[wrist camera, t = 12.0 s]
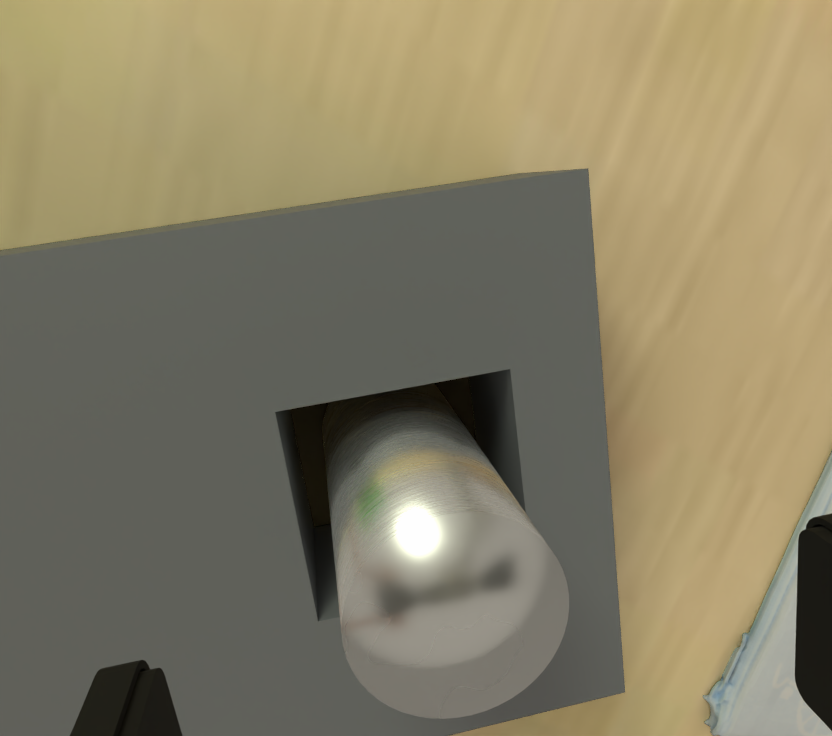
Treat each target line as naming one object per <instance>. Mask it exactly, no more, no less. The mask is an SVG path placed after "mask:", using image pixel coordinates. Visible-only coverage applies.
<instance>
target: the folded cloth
mask: <svg viewBox="0 0 832 736" xmlns="http://www.w3.org/2000/svg"><path fill="white" fill-rule="evenodd" d="M831 513H832V451H831V453H830V456H829V458H828V460H827V462H826V465H825V467H824V469H823V471H822V474H821V476H820V478H819V480H818V482H817V484H816V486H815V488H814V491H813V493H812V495H811V497H810V499H809V501H808V503H807V506H806V508H805V509H804V511H803V513H802V516H801V518H800V520H799V522H798V524H797V526H796V528H795V531H794V533H793V535H792V537H791V540H790V542H789V544H788V547H787V549H786V551H785V554H784V556H783V558H782V561H781V563H780V565H779V568H778V570H777V572H776V574H775V576H774V578H773V581H772V583H771V585H770V587H769V589H768V592H767V594H766V596H765V598H764V600H763V603H762V605H761V607H760V609H759V612H758V614H757V616H756V619H755V621H754V623H753V625H752V627H751V630H750V632H749V633H743V634H742V642H741V645H740V647H737V648H736V649H735V650H734V652H733V654H732V656H731V658H730V660H729V662H728V664H727V666H726V668H725V670H724V672H723V674H722V679H721V681H718V682H717V683H716V684H715V685H714V686H713V687H712V689H711V691H710V693H709V694H708V695H703V698H704V699H705V700H707V702H708V703H709V704H710V709H711V714H710V717H709V719H708V720H706V721H704V723H705V724H707V725H710V728H711V731H710V732H711V733H712V735H713V736H714V735H720V736H832V731H831V730H830V729H829V728H828V727H827V725H826V724H825V723H824V722H823V721H822V720H821V719H820V718H819V717H818V716H817V715H816V714H815V713H814V712H813V711H812V709H811V708H810V707H809V706H808V705H807V704H806V703H805V701H804V700H803V699H802V697H801V695H800V693H799V691H798V689H797V686H796V682H795V644H796V606H797V569H798V539H799V534H800V533H801V531H803V530H805V529H806V525H807V523H808V521H809V520H810V519H812V518H813V517H817V516H822V515H827V514H831Z"/></svg>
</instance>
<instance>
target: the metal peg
mask: <svg viewBox="0 0 832 736" xmlns="http://www.w3.org/2000/svg"><path fill="white" fill-rule="evenodd" d="M322 434H323V444H324V455H325V465H326V476H327V487H328V497H329V508H330V518H331V529H332V539H333V550H334V560H335V571H336V581H337V592H338V603H339V613H340V624H341V634H342V642H343V648H344V651H345V655H346V658H347V661H348V663H349V665H350V667H351V670H352V671H353V673H354V674H355V676H356V677H357V679H358V680H359V682H360V683H361V684H362V685H363V686H364V687H365V688H366V690H367V691H368V692H370V693H371V694H372V695H373V696H374V697H376V698H377V699H378V700H380V701H381V702H383V703H384V704H386V705H388V706H389V707H392V708H394V709H396V710H398V711H401V712H403V713H407V714H410V715H414V716H418V717H425V718H435V719H448V718H459V717H465V716H470V715H474V714H477V713H481V712H484V711H487V710H489V709H492V708H494V707H496V706H499V705H501V704H502V703H504V702H506V701H508V700H510V699H512V698H513V697H514V696H516V695H517V694H519V693H520V692H522V691H523V690H524V689H525V688H527V687H528V686H529V685H530V684H531V683H532V682H533V681H535V680H536V678H537V677H538V676H539V675H540V674H541V673H542V672H543V671H544V670H545V668H546V667H547V665H548V664H549V663H550V661H551V660H552V658H553V657H554V655H555V653H556V651H557V649H558V648H559V646H560V643H561V641H562V638H563V636H564V633H565V629H566V625H567V621H568V614H569V592H568V586H567V581H566V578H565V575H564V572H563V569H562V567H561V565H560V563H559V561H558V559H557V557H556V556H555V555H554V553H553V552H552V550H551V549H550V547H549V546H548V544H547V543H546V542H545V540H544V539H543V537H542V536H541V534H540V533H539V532H538V530H537V529H536V527H535V526H534V524H533V523H532V522H531V520H530V519H529V517H528V516H527V514H526V513H525V512H524V510H523V509H522V507H521V506H520V504H519V503H518V501H517V500H516V499H515V497H514V496H513V494H512V493H511V491H510V490H509V489H508V487H507V486H506V484H505V483H504V481H503V480H502V479H501V477H500V476H499V474H498V473H497V471H496V470H495V469H494V467H493V466H492V464H491V463H490V461H489V460H488V458H487V457H486V456H485V454H484V453H483V451H482V450H481V448H480V447H479V446H478V444H477V443H476V441H475V440H474V438H473V437H472V436H471V434H470V433H469V431H468V430H467V428H466V427H465V426H464V424H463V423H462V421H461V420H460V418H459V417H458V416H457V414H456V413H455V411H454V410H453V408H452V407H451V405H450V404H449V403H448V401H447V400H446V398H445V397H444V395H443V394H442V393H441V391H440V390H439V388H438V387H437V386H436V385H435V384H434V383H431V384H426V385H420V386H415V387H409V388H404V389H398V390H393V391H387V392H382V393H376V394H371V395H365V396H360V397H354V398H349V399H343V400H338V401H333V402H329V404H328V406H327V408H326V411H325V414H324V419H323V428H322Z"/></svg>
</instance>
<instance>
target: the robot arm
mask: <svg viewBox="0 0 832 736" xmlns="http://www.w3.org/2000/svg"><path fill="white" fill-rule="evenodd" d="M795 682H796V686H797V689H798V691H799V693H800V695H801V697H802V699H803V700H804V701H805V703H806V704H807V705H808V706H809V707H810V708H811V709H812V711H813V712H814V713H815V714H816V715H817V716H818V717H819V718H820V719H821V720H822V721H823V722H824V723H825V724H826V725H827V727H828V728H829V729H830V730H831V731H832V513H831V514H827V515H822V516H817V517H813V518H812V519H810V520H809V521H808V523H807V525H806V529H805V530H803V531H801V533H800V534H799V539H798V569H797V606H796V644H795ZM70 736H182V732H181V729H180V725H179V722H178V719H177V715H176V712H175V708H174V705H173V701H172V698H171V694H170V691H169V688H168V684H167V681H166V677H165V674H164V672H163V670H162V669H161V668H155V669H150V668H149V665H148V664H147V662H146V661H144V660H139V661H134V662H129V663H124V664H120V665H115V666H110V667H106V668H101V669H100V670H98V672H97V673H96V675H95V677H94V679H93V682H92V684H91V686H90V689H89V691H88V694H87V696H86V698H85V701H84V703H83V706H82V708H81V710H80V713H79V715H78V718H77V720H76V722H75V725H74V727H73V730H72V732H71V734H70Z"/></svg>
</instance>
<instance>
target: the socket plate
mask: <svg viewBox="0 0 832 736" xmlns="http://www.w3.org/2000/svg"><path fill="white" fill-rule="evenodd" d="M464 377H468V378H469V386H470V394H471V402H472V410H473V418H474V426H475V434H476V442H477V444H478V446H479V447H480V448H481V450H482V451H483V453H484V454H485V456H486V457H487V458H488V460H489V461H490V463H491V464H492V466H493V467H494V469H495V470H496V471H497V473H498V474H499V476H500V477H501V479H502V480H503V481H504V483H505V484H506V486H507V487H508V489H509V490H510V491H511V493H512V494H513V496H514V497H515V499H516V500H517V501H518V503H519V504H520V506H521V507H522V509H523V510H524V512H525V513H526V514H527V516H528V517H529V519H530V520H531V522H532V523H533V524H534V526H535V527H536V529H537V530H538V532H539V533H540V534H541V536H542V537H543V539H544V540H545V542H546V543H547V544H548V546H549V547H550V549H551V550H552V552H553V553H554V555H555V556H556V557H557V559H558V561H559V563H560V565H561V567H562V569H563V572H564V575H565V578H566V581H567V586H568V592H569V614H568V621H567V625H566V629H565V633H564V636H563V638H562V641H561V643H560V646H559V648H558V649H557V651H556V653H555V655H554V657H553V658H552V660H551V661H550V663H549V664H548V665H547V667H546V668H545V670H544V671H543V672H542V673H541V674H540V675H539V676H538V677H537V678H536V680H535V681H533V682H532V683H531V684H530V685H529V686H528V687H527V688H525V689H524V690H523V691H522V692H520V693H519V694H517V695H516V696H514V697H513V698H512V699H510V700H508V701H506V702H504V703H502V704H501V705H499V706H496V707H494V708H492V709H489V710H487V711H484V712H481V713H477V714H474V715H470V716H465V717H459V718H448V719H435V718H425V717H418V716H414V715H410V714H407V713H403V712H401V711H398V710H396V709H394V708H392V707H389V706H388V705H386V704H384V703H383V702H381V701H380V700H378V699H377V698H376V697H374V696H373V695H372V694H371V693H370V692H368V691H367V690H366V688H365V687H364V686H363V685H362V684H361V683H360V682H359V680H358V679H357V677H356V676H355V674H354V673H353V671H352V670H351V667H350V665H349V663H348V661H347V658H346V655H345V651H344V648H343V642H342V634H341V624H340V613H339V603H338V592H337V581H336V571H335V560H334V550H333V539H332V529H331V524H328V525H323V526H318V527H314V526H313V521H312V516H311V511H310V506H309V501H308V496H307V491H306V486H305V481H304V476H303V471H302V466H301V461H300V455H299V450H298V445H297V440H296V435H295V430H294V425H293V420H292V415H291V410H290V409H294V408H300V407H305V406H311V405H316V404H322V403H327V402H333V401H338V400H343V399H349V398H354V397H360V396H365V395H371V394H376V393H382V392H387V391H393V390H398V389H404V388H409V387H415V386H420V385H426V384H431V383H436V382H442V381H447V380H453V379H458V378H464ZM139 660H144V661H146V662H147V664H148V665H149V668H150V669H155V668H161V669H162V670H163V672H164V674H165V677H166V681H167V684H168V688H169V691H170V694H171V698H172V701H173V705H174V708H175V712H176V715H177V719H178V722H179V725H180V729H181V732H182V736H449V735H453V734H457V733H461V732H465V731H469V730H473V729H477V728H481V727H485V726H489V725H493V724H498V723H502V722H506V721H510V720H514V719H518V718H522V717H526V716H530V715H534V714H538V713H542V712H546V711H551V710H555V709H559V708H563V707H567V706H571V705H575V704H579V703H583V702H587V701H591V700H595V699H599V698H603V697H608V696H612V695H616V694H620V693H624V692H625V685H624V670H623V656H622V642H621V628H620V614H619V599H618V585H617V571H616V557H615V543H614V528H613V514H612V500H611V486H610V472H609V457H608V443H607V429H606V415H605V401H604V386H603V372H602V358H601V344H600V330H599V315H598V301H597V287H596V273H595V259H594V244H593V230H592V216H591V202H590V188H589V173H588V169H574V170H561V171H547V172H533V173H519V174H513V175H506V176H499V177H492V178H486V179H479V180H472V181H465V182H459V183H452V184H445V185H438V186H432V187H425V188H418V189H411V190H405V191H398V192H391V193H384V194H378V195H371V196H364V197H357V198H351V199H344V200H337V201H330V202H324V203H317V204H310V205H303V206H297V207H290V208H283V209H276V210H270V211H263V212H256V213H249V214H243V215H236V216H229V217H222V218H216V219H209V220H202V221H195V222H189V223H182V224H175V225H168V226H161V227H155V228H148V229H141V230H134V231H128V232H121V233H114V234H107V235H101V236H94V237H87V238H80V239H74V240H67V241H60V242H53V243H47V244H40V245H33V246H26V247H20V248H13V249H6V250H0V736H70V734H71V732H72V730H73V727H74V725H75V722H76V720H77V718H78V715H79V713H80V710H81V708H82V706H83V703H84V701H85V698H86V696H87V694H88V691H89V689H90V686H91V684H92V682H93V679H94V677H95V675H96V673H97V672H98V670H100V669H101V668H106V667H110V666H115V665H120V664H124V663H129V662H134V661H139Z"/></svg>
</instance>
